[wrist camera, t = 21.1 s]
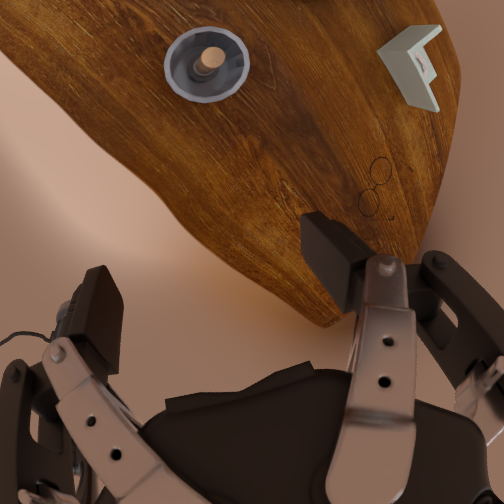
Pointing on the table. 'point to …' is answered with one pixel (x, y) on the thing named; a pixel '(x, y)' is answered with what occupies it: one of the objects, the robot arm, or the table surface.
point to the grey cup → (229, 71)
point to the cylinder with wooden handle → (205, 65)
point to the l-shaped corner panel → (412, 64)
